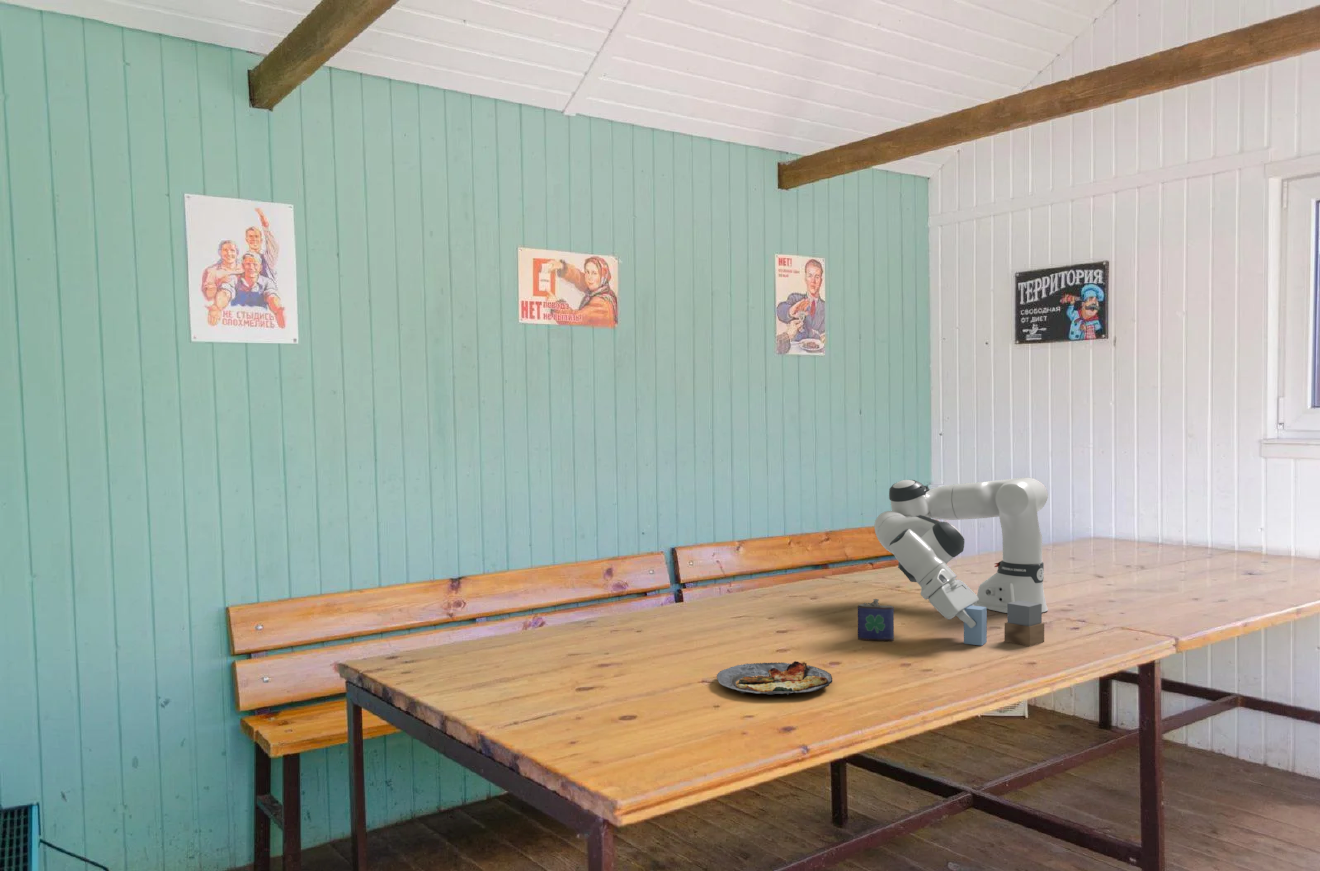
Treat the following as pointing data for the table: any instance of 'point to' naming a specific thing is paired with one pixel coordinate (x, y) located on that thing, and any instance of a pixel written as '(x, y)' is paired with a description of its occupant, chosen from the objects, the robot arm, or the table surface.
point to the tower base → (1024, 634)
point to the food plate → (775, 678)
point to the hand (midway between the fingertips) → (977, 623)
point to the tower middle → (1024, 613)
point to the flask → (875, 622)
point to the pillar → (976, 626)
